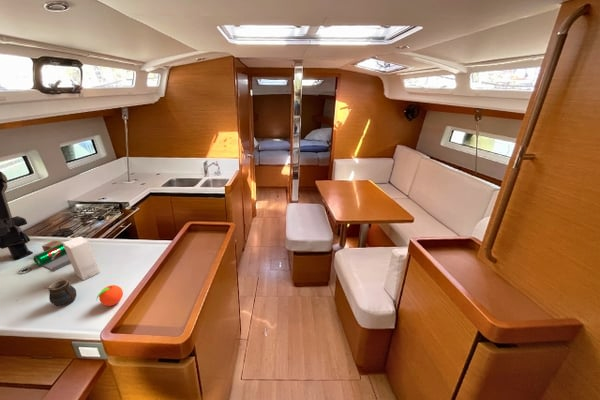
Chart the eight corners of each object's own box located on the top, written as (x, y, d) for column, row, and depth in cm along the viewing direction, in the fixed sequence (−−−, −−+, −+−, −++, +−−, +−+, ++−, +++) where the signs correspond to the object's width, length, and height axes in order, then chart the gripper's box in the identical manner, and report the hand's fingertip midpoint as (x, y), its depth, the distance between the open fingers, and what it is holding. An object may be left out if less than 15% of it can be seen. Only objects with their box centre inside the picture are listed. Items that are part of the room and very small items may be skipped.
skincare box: (100, 273, 111) (89, 241, 106) (82, 281, 106) (69, 248, 100) (92, 266, 116) (81, 235, 110) (74, 274, 111) (61, 242, 105)
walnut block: (45, 255, 125) (41, 246, 123) (56, 249, 129) (52, 240, 127) (54, 256, 124) (50, 247, 122) (65, 250, 128) (61, 241, 126)
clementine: (105, 315, 90) (99, 298, 87) (94, 307, 93) (88, 291, 91) (129, 300, 97) (124, 284, 94) (118, 293, 100) (113, 278, 97)
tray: (37, 263, 118) (36, 260, 118) (70, 248, 129) (69, 245, 129) (54, 271, 113) (52, 268, 112) (87, 255, 124) (86, 252, 123)
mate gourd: (83, 294, 99) (74, 273, 95) (67, 310, 92) (57, 287, 88) (64, 294, 99) (55, 273, 95) (47, 310, 92) (35, 287, 89)
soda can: (32, 261, 116) (62, 247, 126) (41, 268, 116) (70, 253, 126) (32, 254, 114) (62, 240, 124) (41, 261, 113) (71, 246, 124)
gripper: (-43, 228, 91) (-22, 265, 97) (26, 207, 106) (41, 241, 112) (-57, 222, 95) (-35, 258, 101) (12, 203, 111) (27, 235, 117)
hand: (2, 248), depth 108 cm, fingers closed
